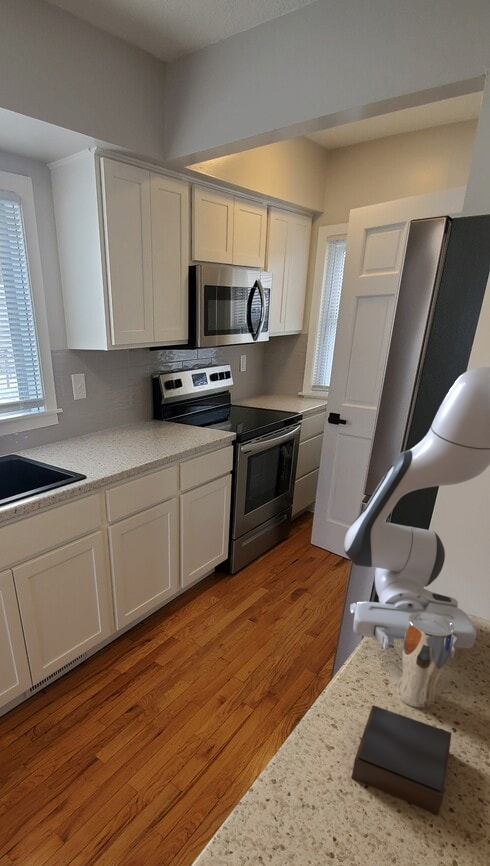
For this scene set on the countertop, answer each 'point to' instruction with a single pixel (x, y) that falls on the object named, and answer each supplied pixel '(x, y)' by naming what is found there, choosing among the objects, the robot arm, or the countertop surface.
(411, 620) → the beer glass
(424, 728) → the riser
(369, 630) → the robot arm
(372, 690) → the countertop surface
